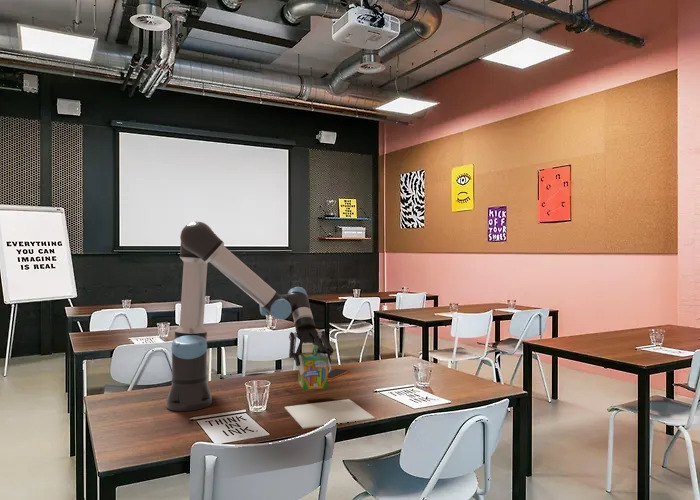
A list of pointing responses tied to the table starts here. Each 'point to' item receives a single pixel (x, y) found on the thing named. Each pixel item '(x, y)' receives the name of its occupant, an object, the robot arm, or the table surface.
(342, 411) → the mat
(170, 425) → the table surface
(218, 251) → the robot arm
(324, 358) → the chalk box
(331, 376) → the smartphone
